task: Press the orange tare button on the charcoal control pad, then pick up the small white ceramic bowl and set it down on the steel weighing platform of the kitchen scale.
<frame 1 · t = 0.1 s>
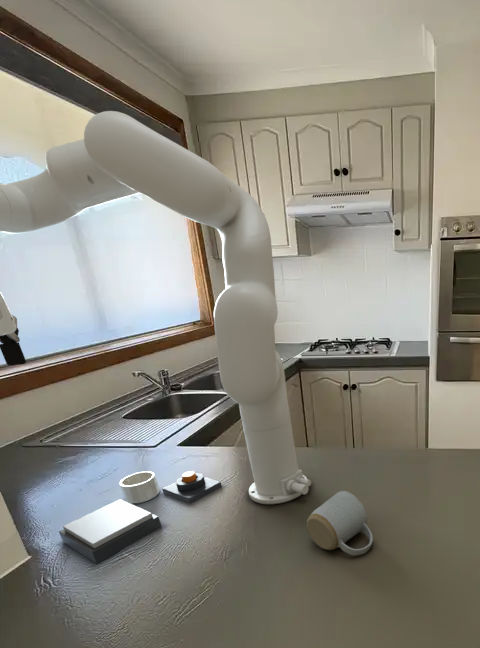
ceramic mug: (345, 542, 73), on the table
bowl: (143, 497, 93), on the table
scale: (113, 534, 80), on the table
tare button: (189, 477, 93), point 3 cm above the table, slide at 0.1 cm
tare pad: (192, 490, 94), on the table
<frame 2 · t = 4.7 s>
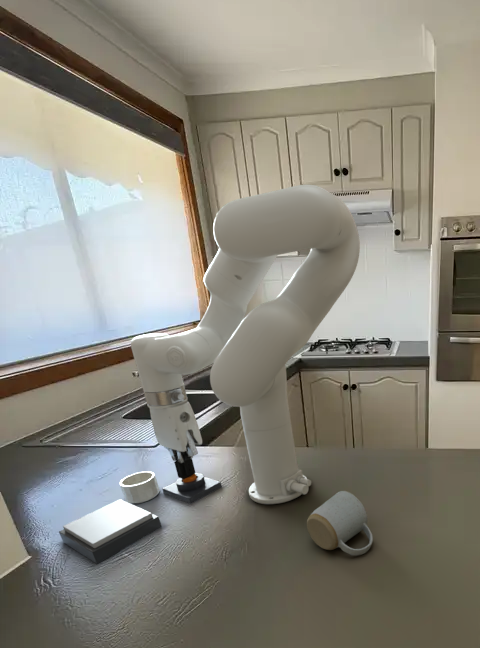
hand: (187, 475, 93), 4 cm above the table, tool pointing down, fingers closed
tare button: (189, 478, 93), point 3 cm above the table, slide at -0.4 cm, touching gripper
everything else where it was.
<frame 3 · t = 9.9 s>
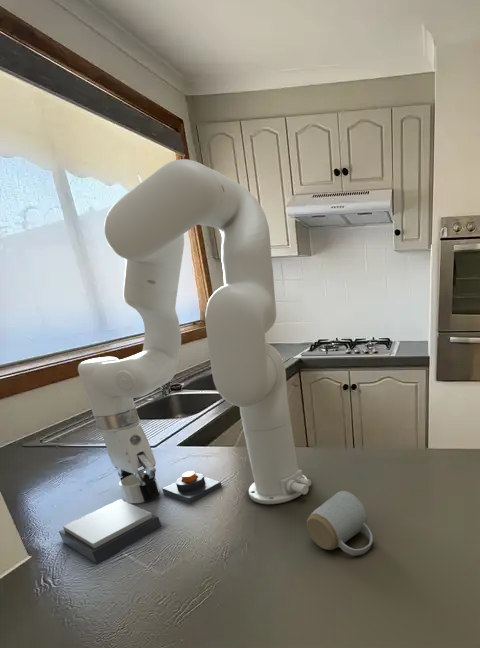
hand: (142, 494, 93), 1 cm above the table, tool pointing down, fingers closed on bowl, 6 cm apart
bowl: (143, 497, 93), on the table, touching gripper
tare button: (189, 477, 93), point 3 cm above the table, slide at 0.1 cm
everything else where it was.
when the fingers open (4 cm above the table, at t = 16.3 s): bowl stays where it is, resting on scale.
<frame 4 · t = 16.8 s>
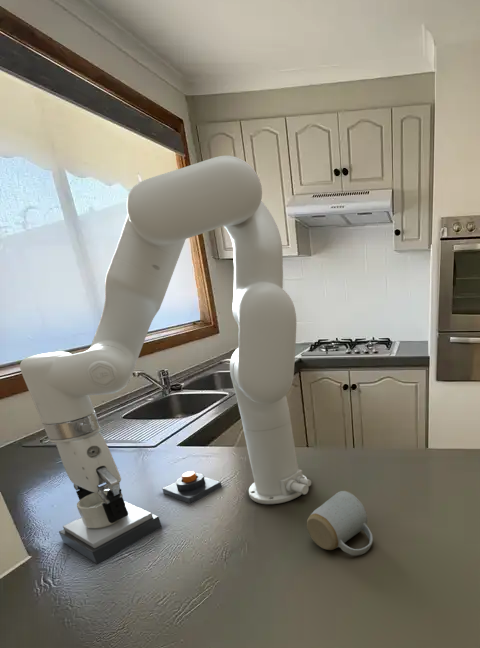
hand: (105, 512, 78), 5 cm above the table, tool pointing down, fingers open, 9 cm apart
bowl: (106, 519, 79), point 3 cm above the table, touching scale
everything else where it was.
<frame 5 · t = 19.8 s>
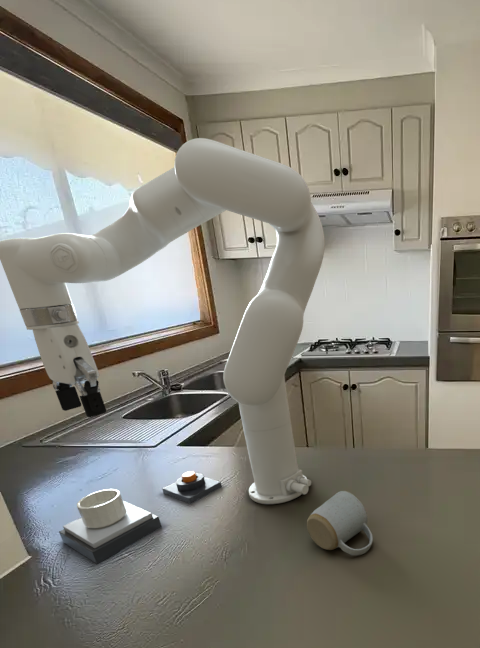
hand: (84, 411, 79), 22 cm above the table, tool pointing down, fingers open, 9 cm apart
nothing on the table moved.
at the end: tare button pushed in 0.8 cm at the most during the clip, back to where it started at the end; bowl inside the target area on the scale (0.1 cm from its centre), point 3.5 cm above the scale's base; bowl tilted 0° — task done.
